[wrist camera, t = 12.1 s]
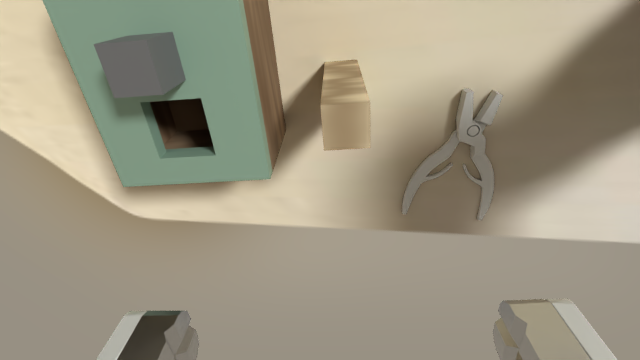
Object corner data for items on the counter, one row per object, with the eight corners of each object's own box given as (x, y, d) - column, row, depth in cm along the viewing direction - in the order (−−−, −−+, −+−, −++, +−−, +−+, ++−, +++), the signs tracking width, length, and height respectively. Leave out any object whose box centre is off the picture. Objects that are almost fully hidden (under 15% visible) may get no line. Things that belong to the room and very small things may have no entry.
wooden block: (356, 59, 32) (370, 102, 20) (357, 91, 33) (370, 147, 22) (324, 62, 32) (320, 105, 21) (327, 93, 33) (323, 150, 22)
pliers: (401, 218, 39) (432, 88, 31) (399, 210, 40) (428, 83, 33) (486, 224, 39) (538, 96, 32) (481, 216, 40) (529, 92, 33)
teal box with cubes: (227, -112, 19) (192, -144, 14) (274, 165, 28) (261, 204, 23) (31, -89, 20) (-65, -113, 15) (137, 173, 29) (97, 212, 24)
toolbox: (255, -87, 26) (222, -116, 19) (285, 130, 35) (272, 171, 28) (108, -71, 27) (18, -93, 19) (174, 137, 36) (131, 179, 28)
